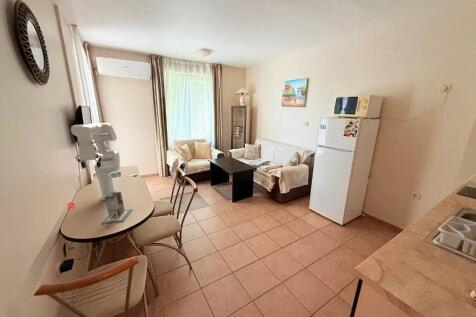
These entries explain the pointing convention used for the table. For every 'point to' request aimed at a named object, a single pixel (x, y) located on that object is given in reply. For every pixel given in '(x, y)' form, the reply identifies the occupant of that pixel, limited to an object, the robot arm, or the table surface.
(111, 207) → the coffee box
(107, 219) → the mat
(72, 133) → the robot arm
